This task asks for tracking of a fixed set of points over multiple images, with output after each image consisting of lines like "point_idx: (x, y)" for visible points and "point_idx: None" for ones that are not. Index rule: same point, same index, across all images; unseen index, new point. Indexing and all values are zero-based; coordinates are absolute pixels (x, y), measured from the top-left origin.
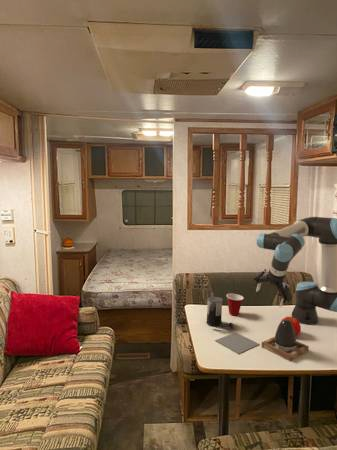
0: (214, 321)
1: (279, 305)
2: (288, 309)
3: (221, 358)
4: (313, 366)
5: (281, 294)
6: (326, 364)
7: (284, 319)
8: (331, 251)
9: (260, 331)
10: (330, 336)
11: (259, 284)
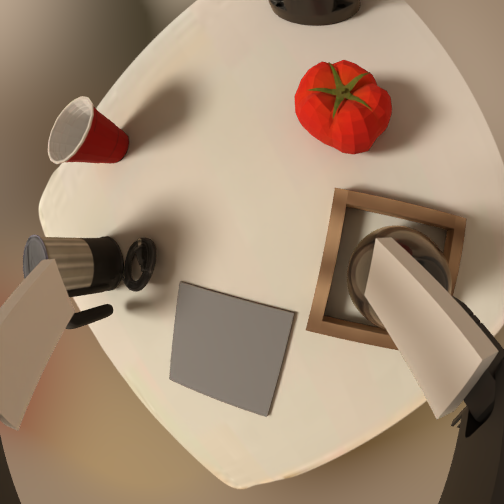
0: (104, 288)
1: (374, 309)
2: None
3: (242, 451)
4: (491, 319)
5: (445, 498)
6: None
7: (317, 107)
8: None
9: (243, 194)
10: (444, 56)
11: (13, 409)
